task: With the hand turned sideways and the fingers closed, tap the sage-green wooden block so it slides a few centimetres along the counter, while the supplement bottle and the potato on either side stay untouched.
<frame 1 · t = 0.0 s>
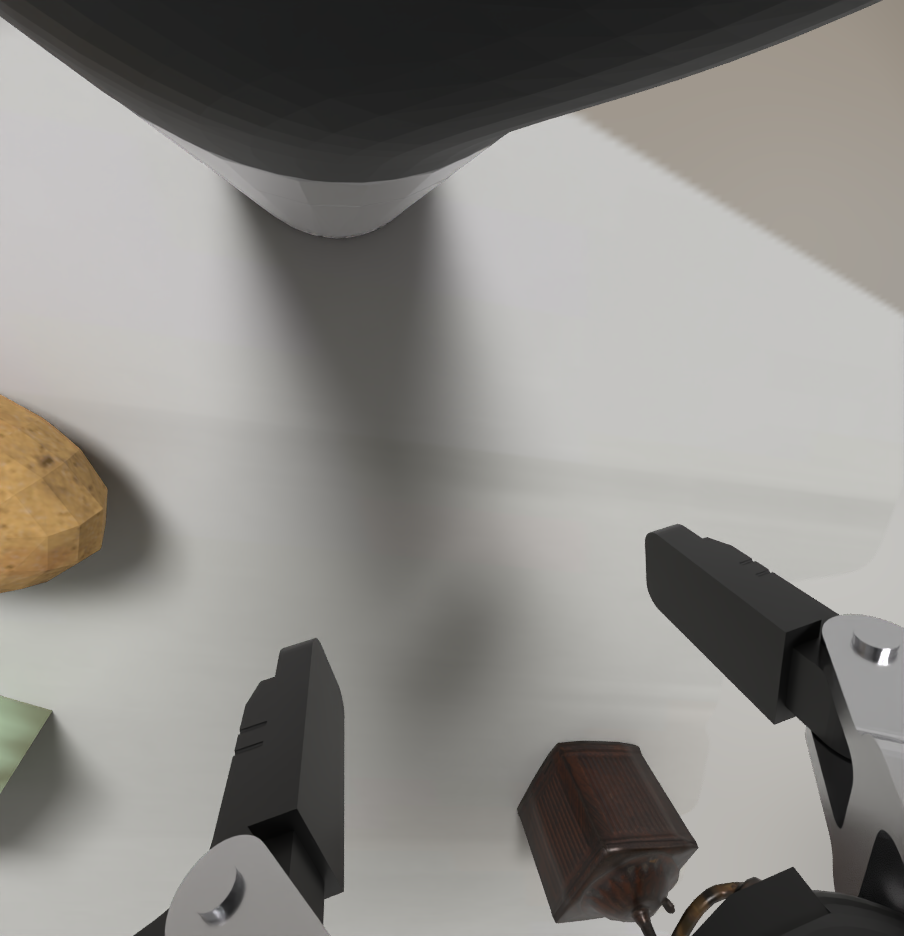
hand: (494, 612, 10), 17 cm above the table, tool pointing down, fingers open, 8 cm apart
wooden coffee grinder: (588, 757, 46), on the table
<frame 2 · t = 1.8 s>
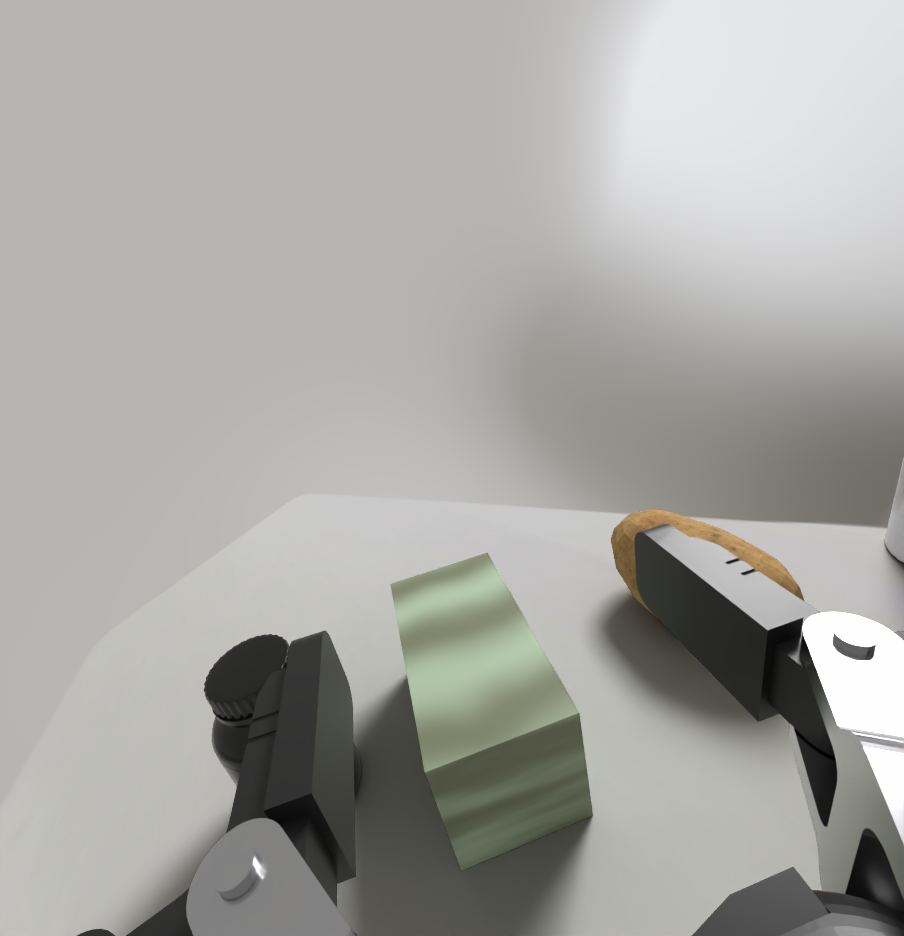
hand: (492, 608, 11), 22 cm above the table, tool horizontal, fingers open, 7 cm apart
potato: (695, 615, 37), on the table
sage-green block: (488, 726, 32), on the table
supplement bottle: (316, 791, 30), on the table
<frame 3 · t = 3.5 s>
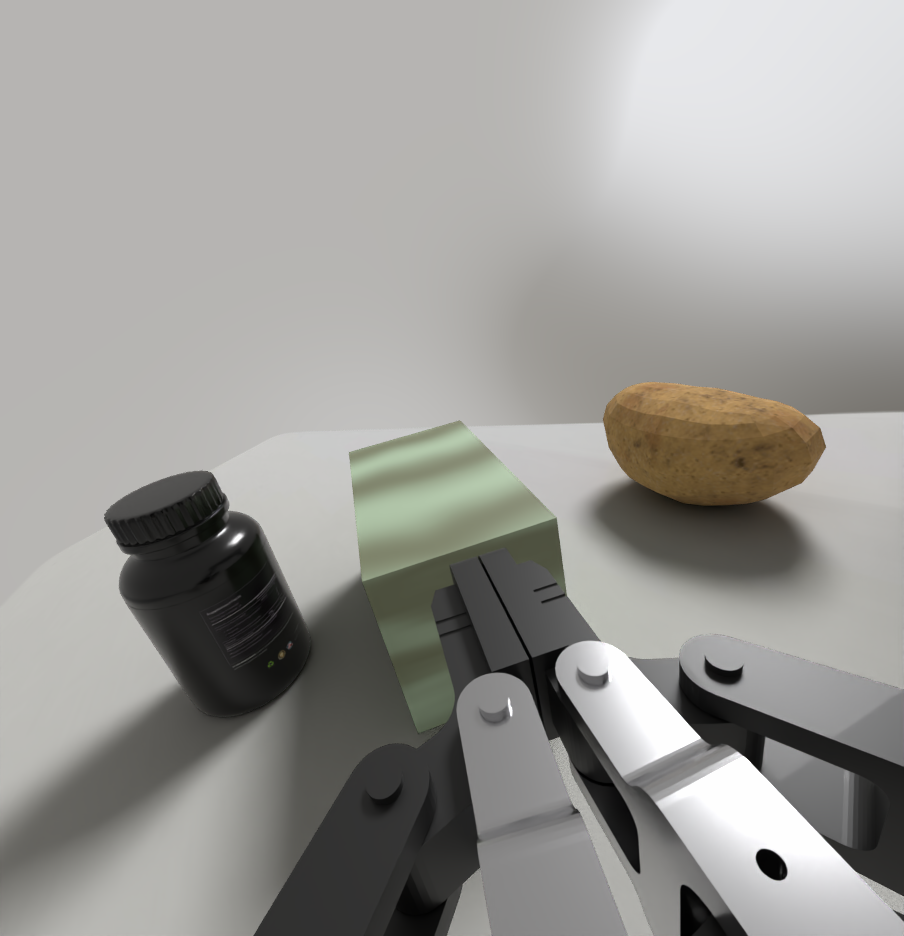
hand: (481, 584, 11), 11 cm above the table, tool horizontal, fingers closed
potato: (697, 496, 33), on the table
sage-green block: (459, 603, 28), on the table
supplement bottle: (258, 671, 26), on the table
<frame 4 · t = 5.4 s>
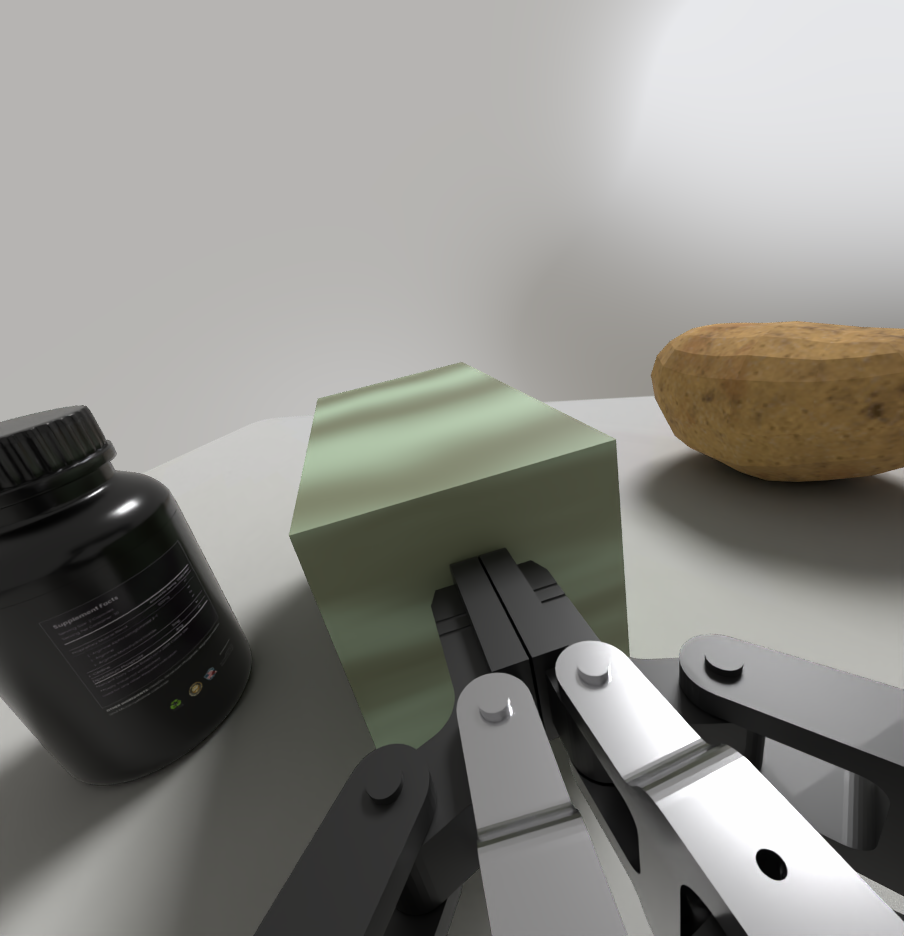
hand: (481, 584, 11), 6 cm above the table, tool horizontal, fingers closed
potato: (781, 473, 25), on the table
sage-green block: (458, 595, 21), on the table, touching gripper
supplement bottle: (173, 708, 18), on the table
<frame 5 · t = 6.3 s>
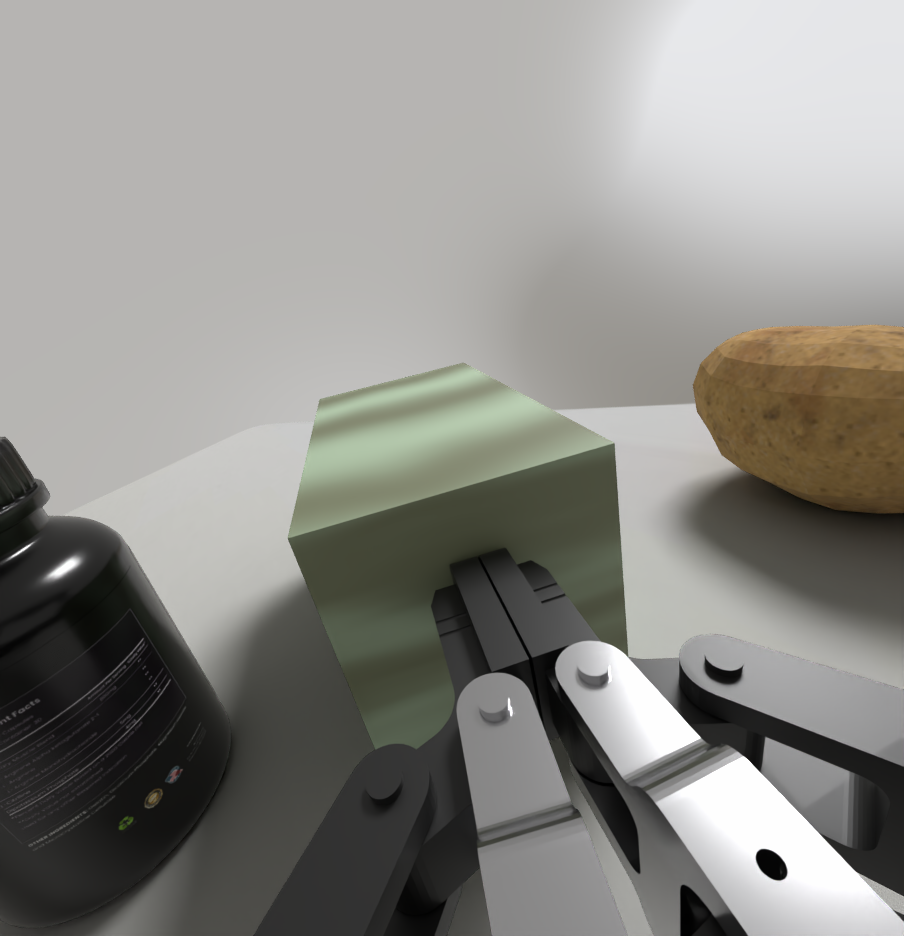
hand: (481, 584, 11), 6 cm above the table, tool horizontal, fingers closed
potato: (848, 499, 21), on the table
sage-green block: (458, 595, 21), on the table
supplement bottle: (133, 803, 15), on the table
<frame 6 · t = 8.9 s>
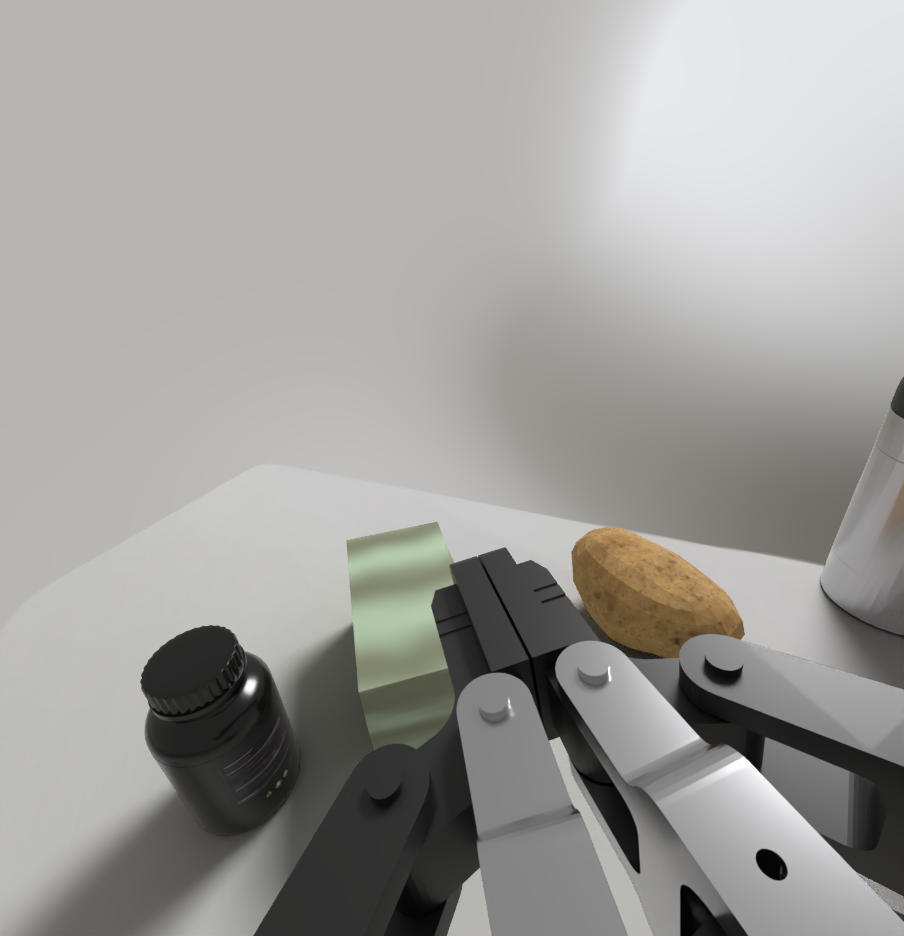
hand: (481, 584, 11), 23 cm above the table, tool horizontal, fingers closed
potato: (641, 633, 39), on the table
sage-green block: (419, 671, 37), on the table
supplement bottle: (251, 781, 30), on the table
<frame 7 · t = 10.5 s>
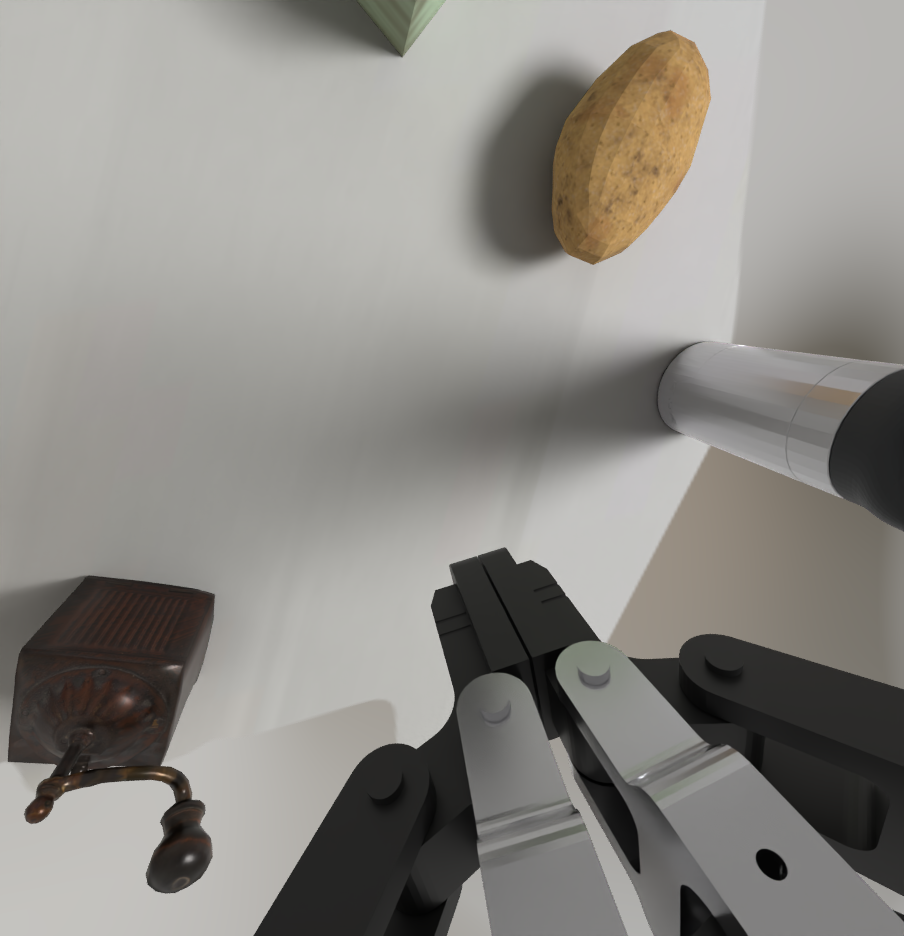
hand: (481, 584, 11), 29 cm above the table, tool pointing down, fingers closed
potato: (589, 178, 36), on the table
wooden coffee grinder: (177, 634, 42), on the table
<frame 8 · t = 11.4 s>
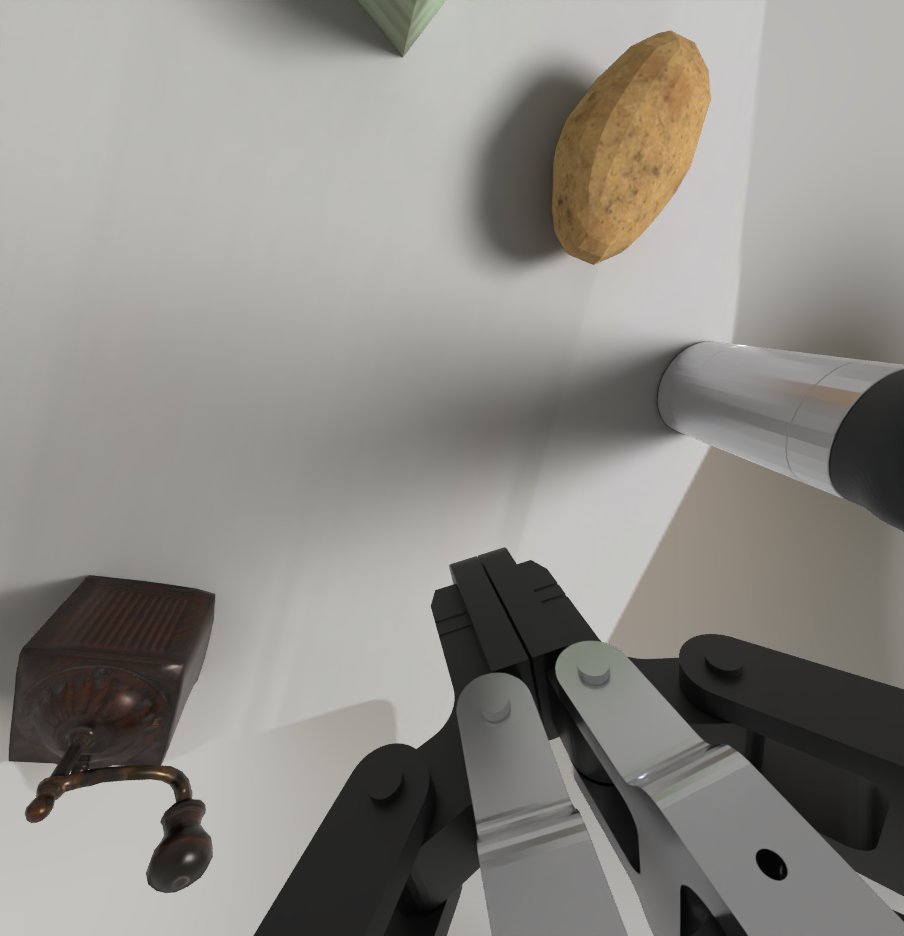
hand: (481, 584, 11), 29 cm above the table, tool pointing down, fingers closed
potato: (589, 178, 36), on the table
wooden coffee grinder: (177, 633, 42), on the table
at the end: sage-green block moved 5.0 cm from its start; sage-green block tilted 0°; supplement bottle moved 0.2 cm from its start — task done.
